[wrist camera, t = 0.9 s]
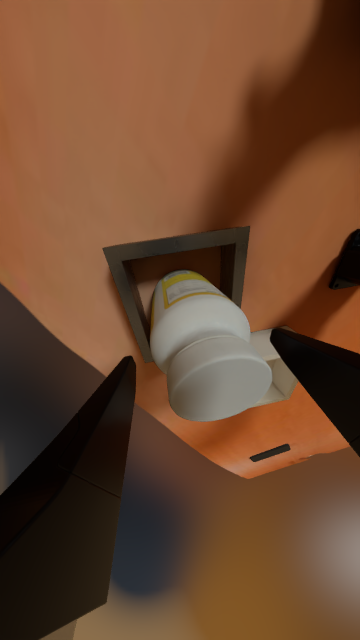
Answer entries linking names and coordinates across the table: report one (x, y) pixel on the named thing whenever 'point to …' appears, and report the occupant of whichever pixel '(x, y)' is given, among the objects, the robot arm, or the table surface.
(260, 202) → the table surface
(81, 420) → the robot arm
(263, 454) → the phone
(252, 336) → the bin
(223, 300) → the pill bottle
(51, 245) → the table surface
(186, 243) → the collar
